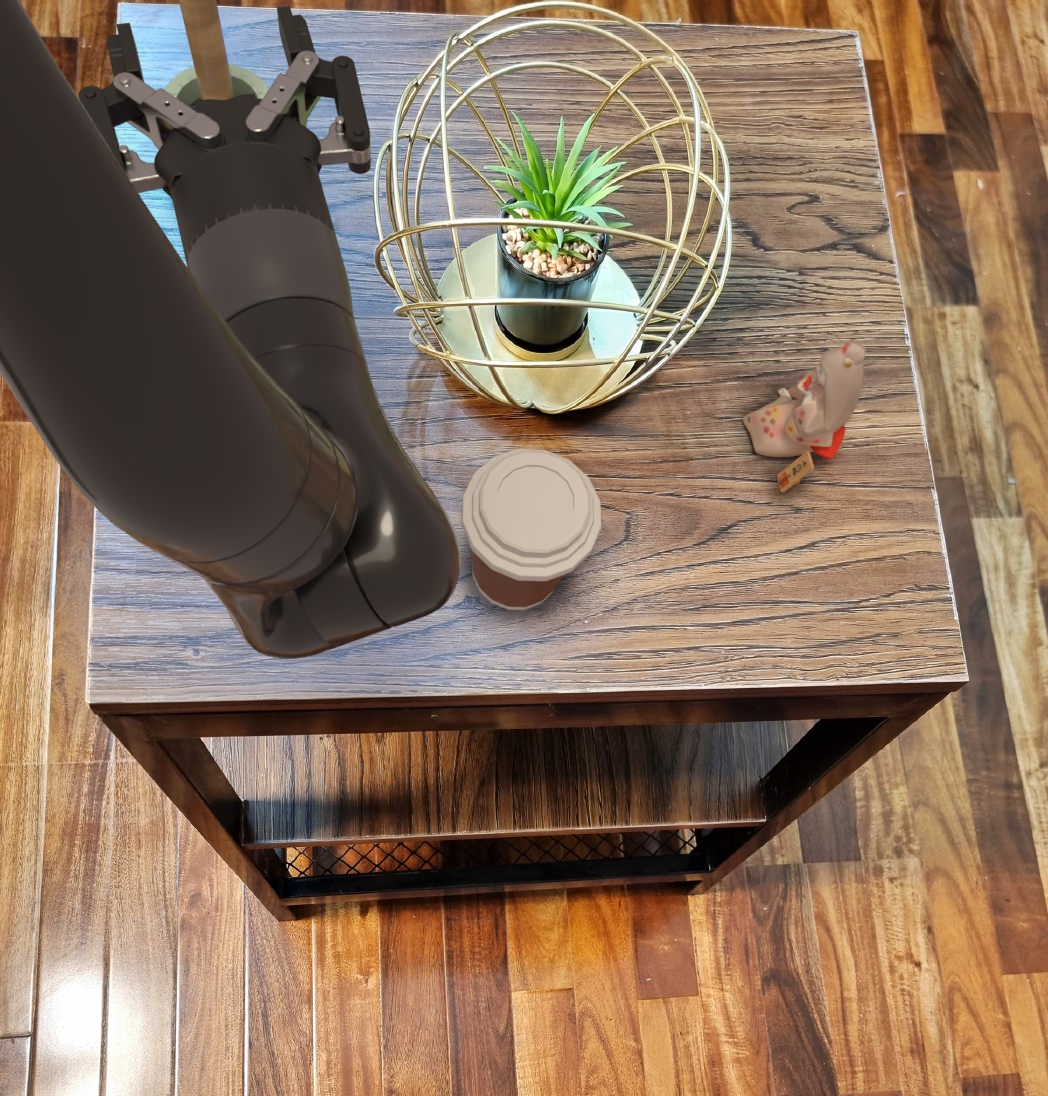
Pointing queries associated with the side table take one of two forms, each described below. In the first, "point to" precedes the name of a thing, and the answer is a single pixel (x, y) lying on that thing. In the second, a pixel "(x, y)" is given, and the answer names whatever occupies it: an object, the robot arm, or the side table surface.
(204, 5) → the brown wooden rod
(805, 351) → the side table surface
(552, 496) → the coffee cup
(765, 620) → the side table surface
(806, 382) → the figurine
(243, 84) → the green cup
